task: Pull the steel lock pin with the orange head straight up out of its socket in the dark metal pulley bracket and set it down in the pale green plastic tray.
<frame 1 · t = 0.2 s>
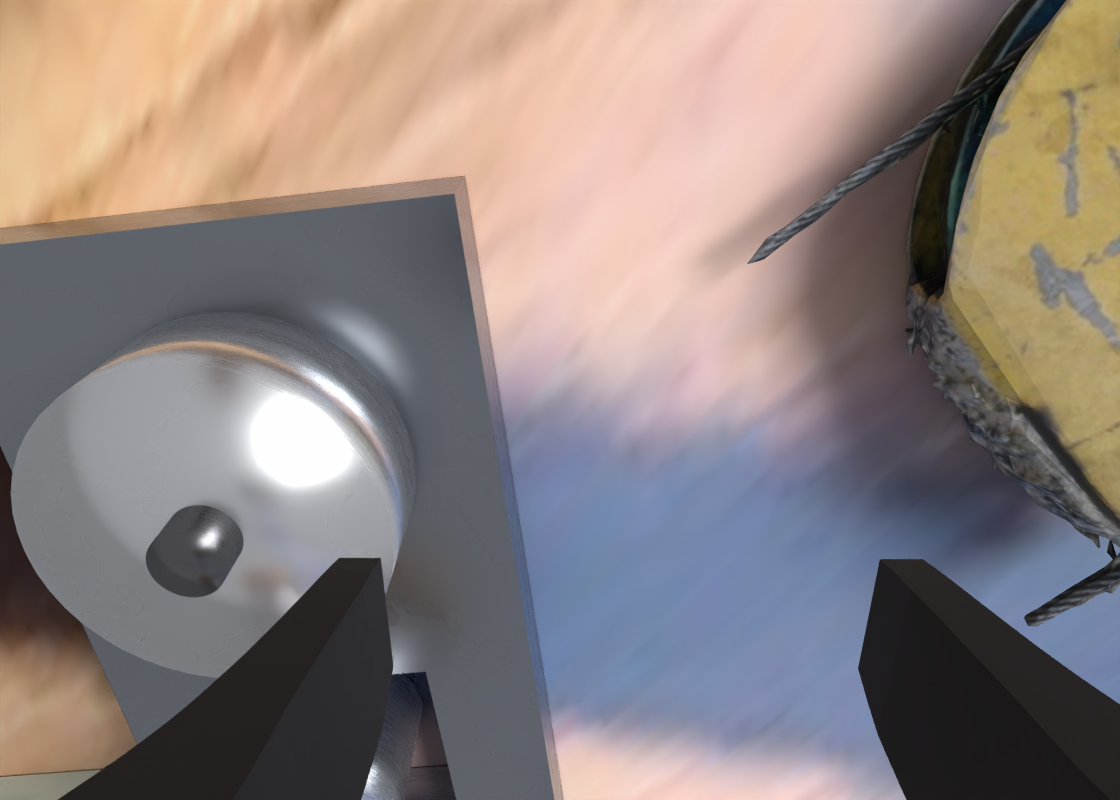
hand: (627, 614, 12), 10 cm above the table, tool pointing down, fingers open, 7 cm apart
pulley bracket: (359, 704, 26), on the table
lock pin: (359, 703, 26), resting in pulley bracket
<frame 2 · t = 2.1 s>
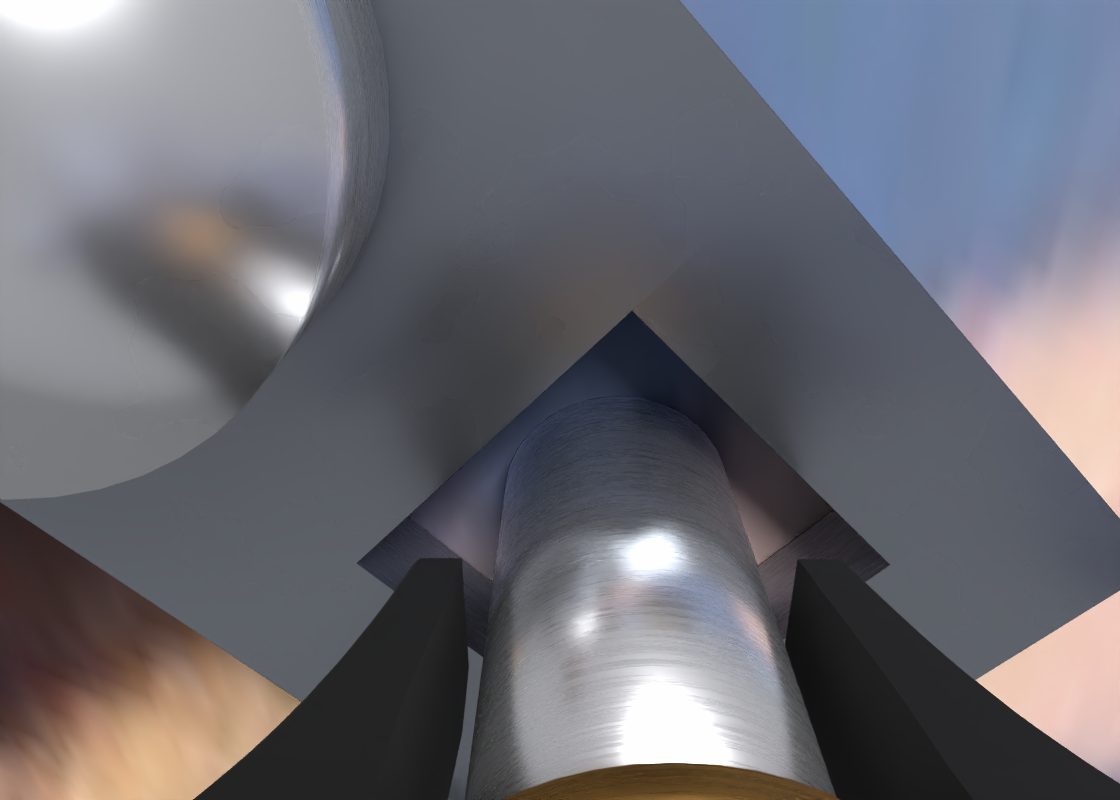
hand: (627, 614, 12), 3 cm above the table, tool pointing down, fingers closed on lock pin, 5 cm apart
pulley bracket: (615, 496, 15), on the table
lock pin: (615, 496, 15), resting in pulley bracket, touching gripper
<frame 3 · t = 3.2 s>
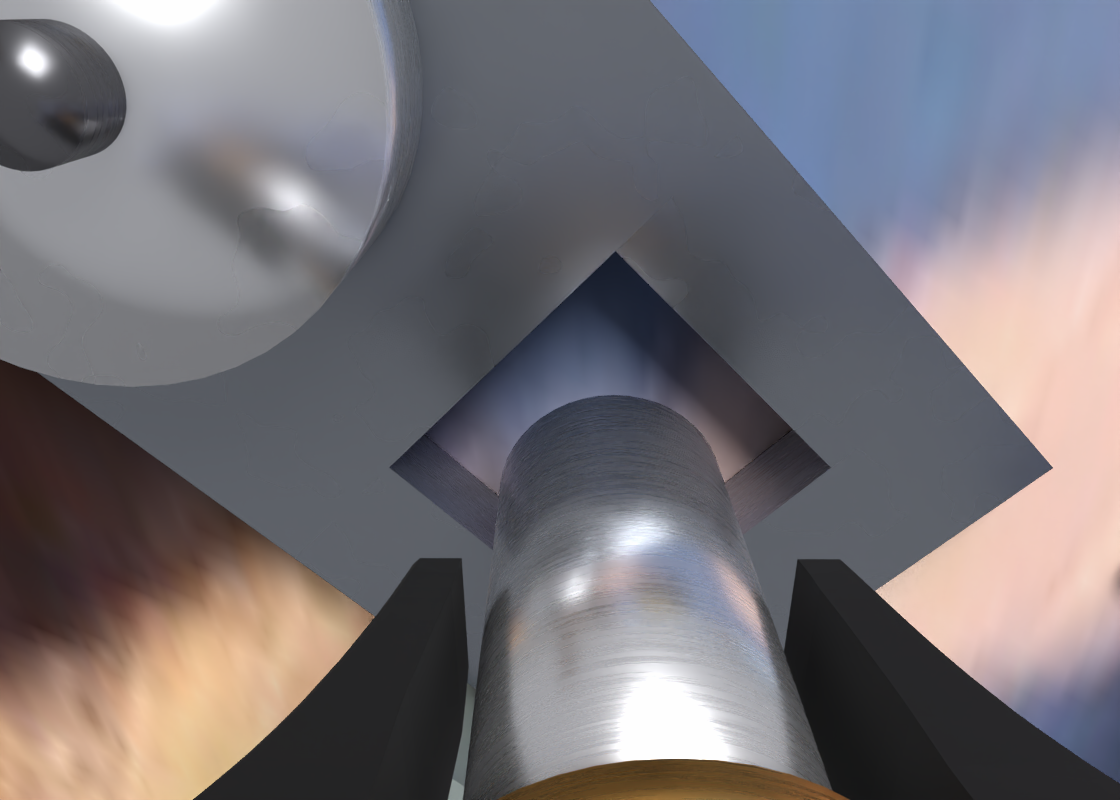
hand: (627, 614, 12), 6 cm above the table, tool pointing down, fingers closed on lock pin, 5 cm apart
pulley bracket: (605, 420, 18), on the table
lock pin: (610, 494, 15), point 3 cm above the table, touching gripper
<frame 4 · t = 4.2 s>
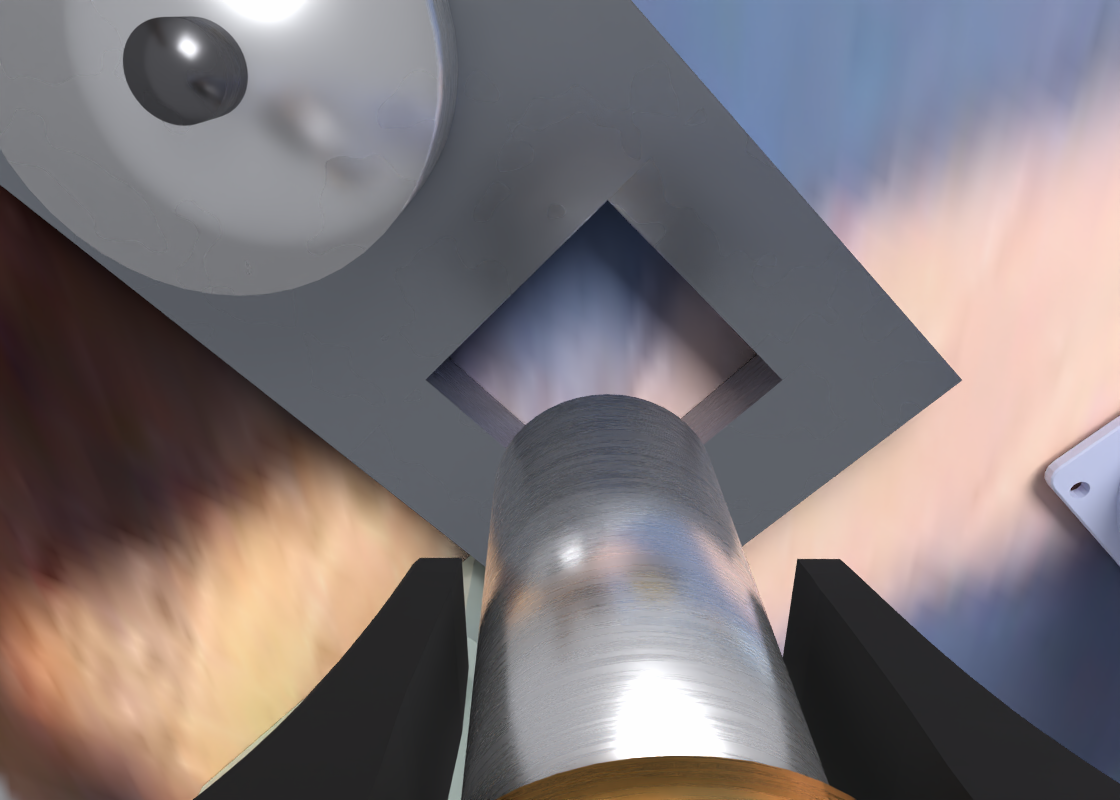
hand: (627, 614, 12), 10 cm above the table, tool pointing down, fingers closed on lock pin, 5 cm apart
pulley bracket: (600, 348, 21), on the table
tray: (488, 788, 28), on the table
lock pin: (604, 494, 15), point 7 cm above the table, touching gripper
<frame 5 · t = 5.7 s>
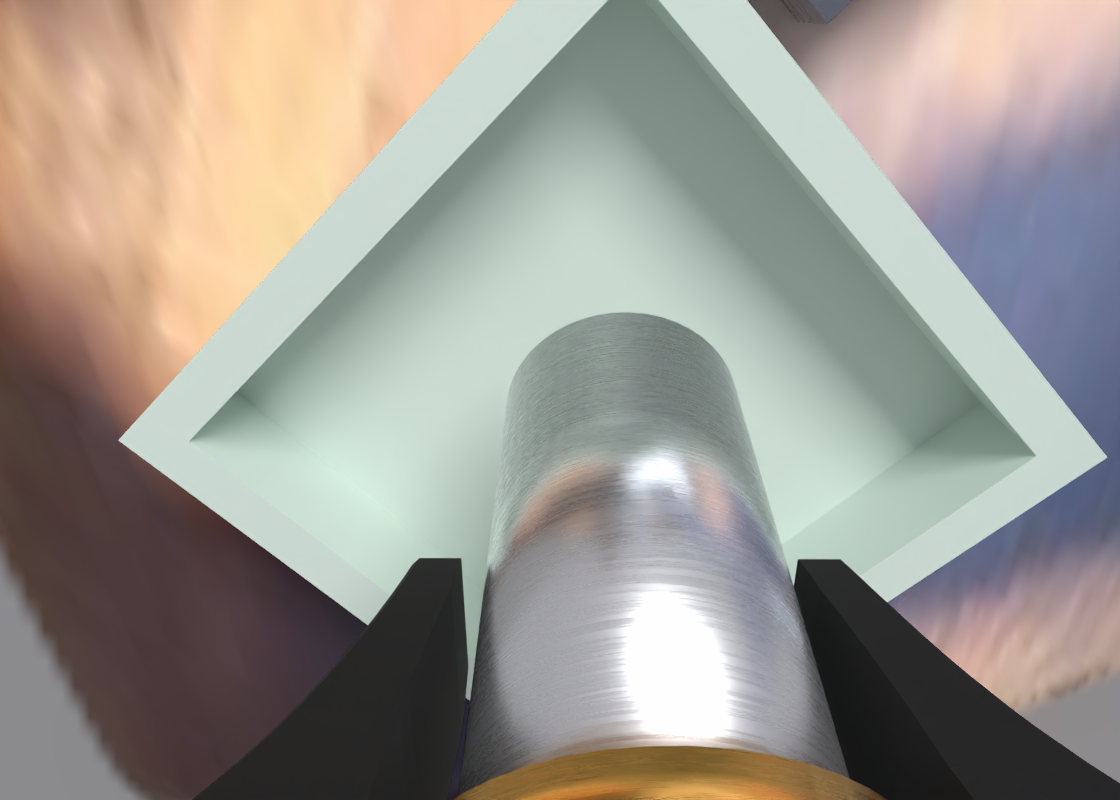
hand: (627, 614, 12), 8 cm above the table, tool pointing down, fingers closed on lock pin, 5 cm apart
tray: (605, 378, 20), on the table
lock pin: (621, 414, 14), point 5 cm above the table, tilted 9°, touching gripper
when the fingers open (6 cm above the table, at t = 6.6 s): lock pin drops 1 cm, resting on tray.
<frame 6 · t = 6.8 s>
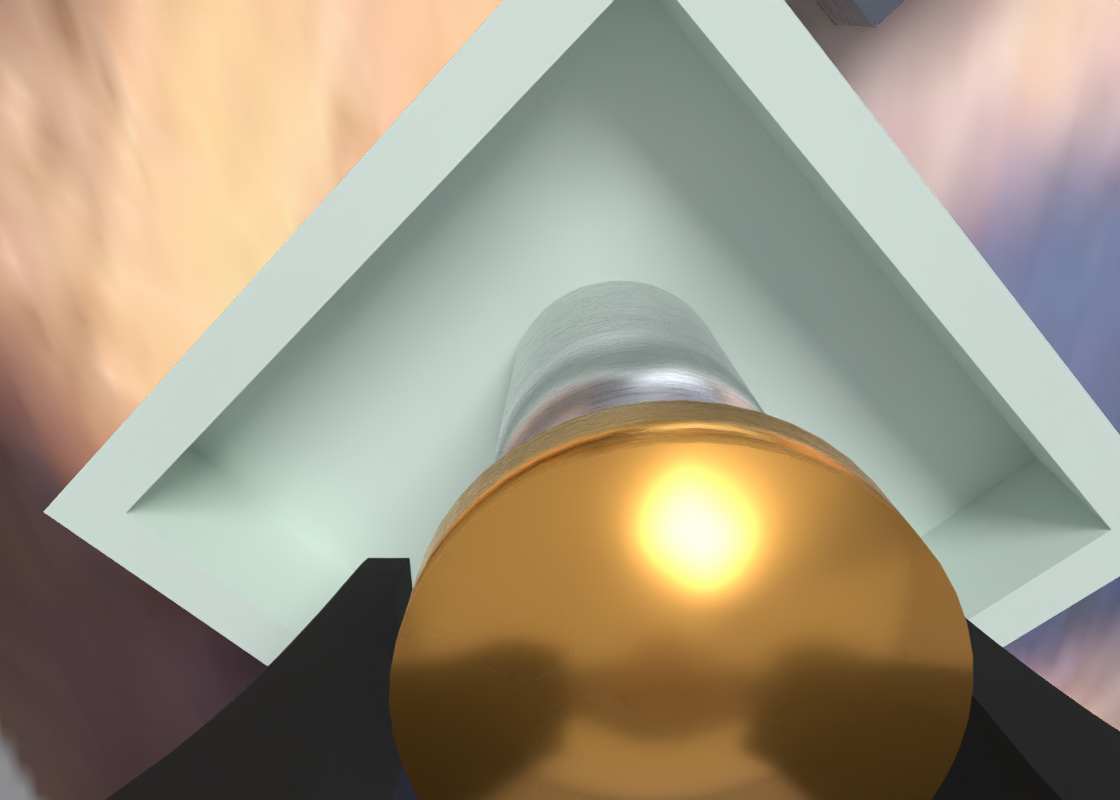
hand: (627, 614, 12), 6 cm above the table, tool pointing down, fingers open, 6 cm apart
tray: (608, 428, 17), on the table
lock pin: (617, 385, 16), point 1 cm above the table, tilted 6°, touching tray
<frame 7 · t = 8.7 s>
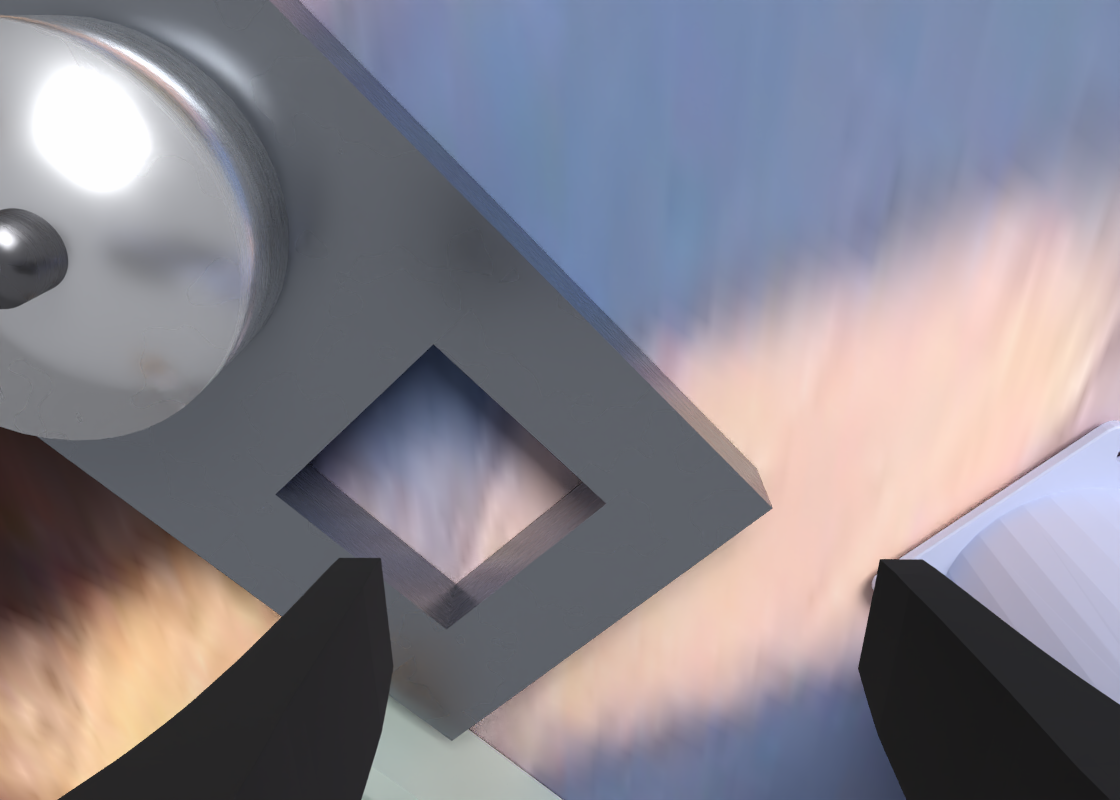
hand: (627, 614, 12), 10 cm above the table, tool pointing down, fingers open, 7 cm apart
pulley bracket: (451, 460, 23), on the table
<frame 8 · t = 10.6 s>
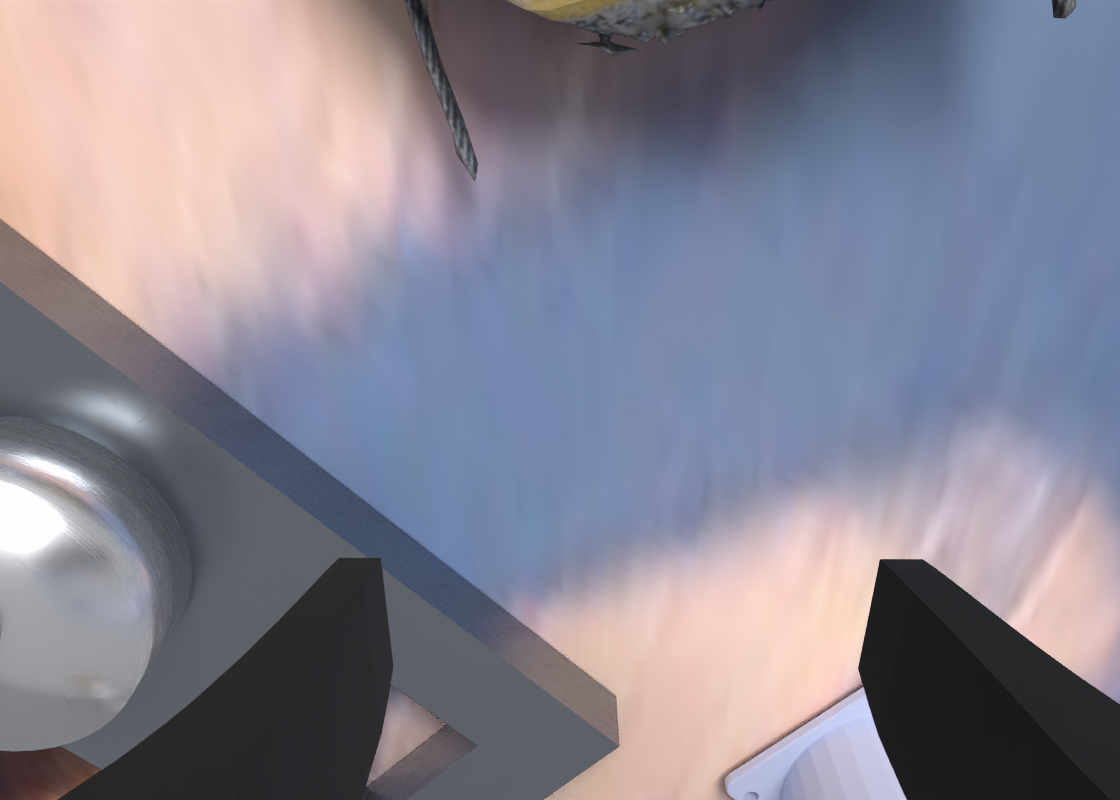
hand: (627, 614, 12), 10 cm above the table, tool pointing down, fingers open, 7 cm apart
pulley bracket: (352, 695, 27), on the table
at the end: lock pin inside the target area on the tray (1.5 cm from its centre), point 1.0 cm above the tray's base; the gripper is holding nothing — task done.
